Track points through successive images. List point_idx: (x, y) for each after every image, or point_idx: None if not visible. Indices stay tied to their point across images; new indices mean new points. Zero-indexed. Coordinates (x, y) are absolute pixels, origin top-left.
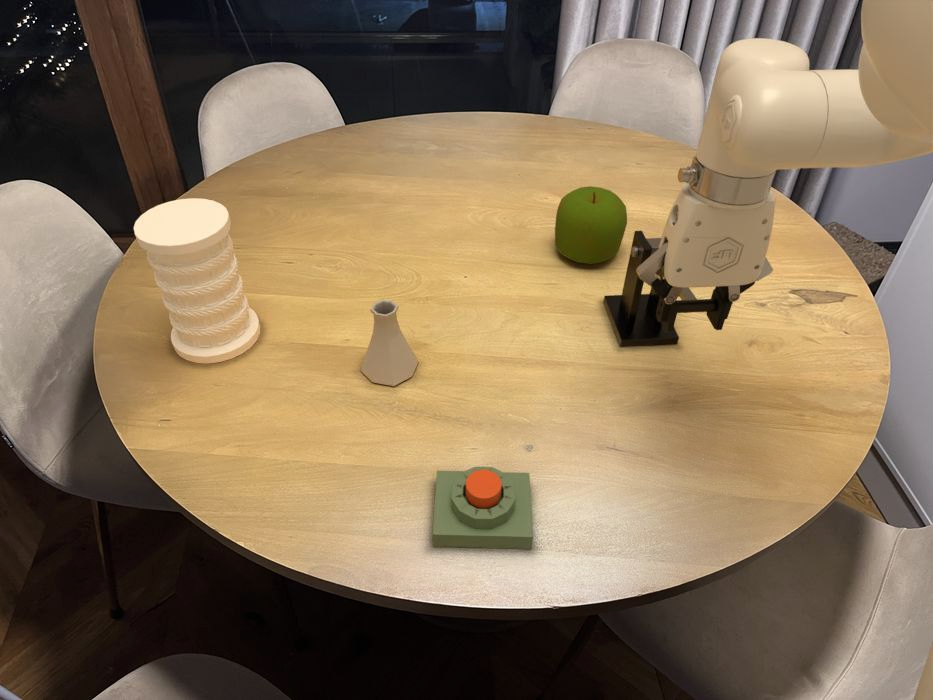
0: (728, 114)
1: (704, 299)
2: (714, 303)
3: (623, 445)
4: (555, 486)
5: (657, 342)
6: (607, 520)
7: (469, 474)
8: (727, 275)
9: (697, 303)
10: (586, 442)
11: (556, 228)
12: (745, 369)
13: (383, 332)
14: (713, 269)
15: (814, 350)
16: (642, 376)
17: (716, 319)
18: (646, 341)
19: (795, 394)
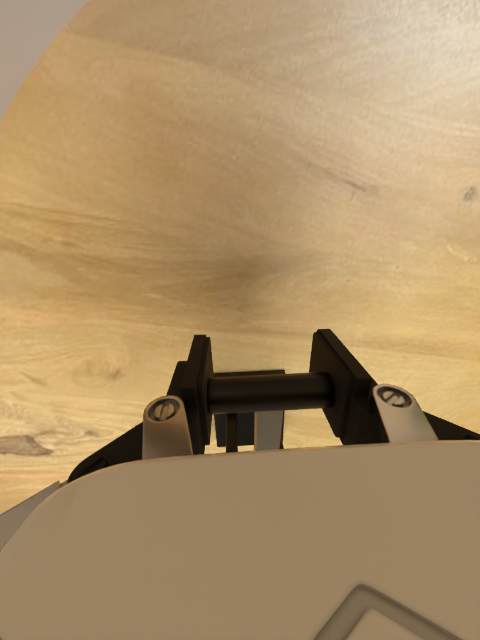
0: None
1: (242, 410)
2: (216, 397)
3: (340, 192)
4: (470, 109)
5: (238, 374)
6: (426, 18)
7: None
8: (257, 545)
9: (267, 396)
10: (389, 201)
11: None
12: (131, 331)
13: None
14: (428, 634)
15: (31, 362)
16: (271, 321)
17: (208, 356)
18: (252, 375)
19: (69, 284)
